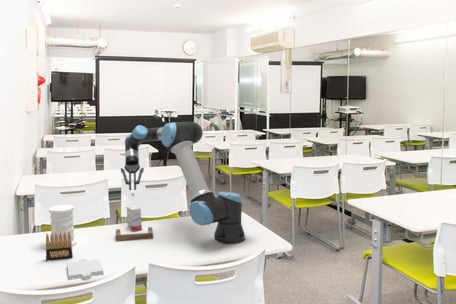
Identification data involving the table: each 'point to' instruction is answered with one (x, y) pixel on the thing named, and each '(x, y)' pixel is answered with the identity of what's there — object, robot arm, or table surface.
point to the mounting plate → (84, 268)
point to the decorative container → (62, 221)
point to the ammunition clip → (58, 247)
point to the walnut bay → (134, 235)
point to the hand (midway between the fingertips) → (132, 194)
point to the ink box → (134, 218)
